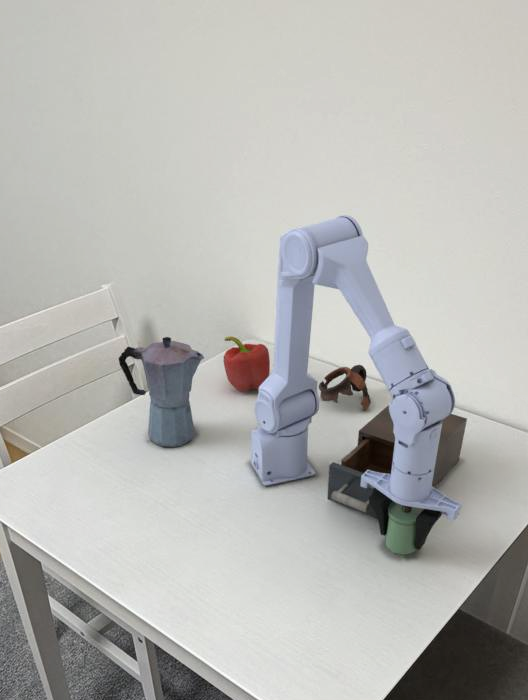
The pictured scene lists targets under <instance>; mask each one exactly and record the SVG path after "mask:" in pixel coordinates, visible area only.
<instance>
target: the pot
mask: <svg viewBox="0 0 528 700" xmlns="http://www.w3.org/2000/svg"><path fill="white" fill-rule="evenodd" d="M423 510H424V509H423V508H416V507H409V506H404V505H400V504H398V503H396V502H394V501H393V502H392V503H390V505H389V506H388V516H389V517H388V525H387V532H386V535H385V541H384V544H385V547H386V548H387V550H389V551H391V552H392V553H394V554H398V555H409V554H412V553H414V552H415V551H417V549H415V540H416V535H417V523H416V517H417V516H418V515H419V514H420V513H421V512H422V511H423Z"/></svg>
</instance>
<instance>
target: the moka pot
mask: <svg viewBox="0 0 528 700" xmlns="http://www.w3.org/2000/svg"><path fill="white" fill-rule="evenodd" d="M129 357H130V358H133V359H134V360H141V363H142V366H143V370H144V375H145V381H146V385H147V389H148V391H149V392H148V394H149V398H150V402H149V404H150V405H149V416H148V417H149V418H148V429H147V431H148V432H147V434H148V438H149V440H150V441H151V442H152V443H154V444H156V445H159V446H161V447H172V448H173V447H180V446H184V445H187V444H189V443H190V442H191V441H192V440H193V439H194V437H195V435H196V431H195V425H194V419H193V413H192V409H191V407H192V406H191V402H190V393H191V391H192V387H193V386H192V385H193V378H194V376H195V374H196V372H197V370H198V367H199V366H200V364H201V362H202V360H204V359H205V356H204V355H203V353H201V352H199V351H197V350H195V349H192V347H191V345H190V344H188V343H184V342H179V341H176V340H172V337H169V336H164V337H162V340H161V341H160V342H152V343H151V344H149V345H147V346H146V347H132V346H127V347H126V348H125V349H124V351H123V352H121V354H120V355H119V357H118V363H119V366H120V368H121V370H122V373H124V376H125V378H126V381H127V382H128V385H129V387H130V389H131V391H132V393H133V394H134V395H137V396H138V395H139V396H146V393H147V391H146V390H145V389H139V388H138V386H137V384H136V383H135V381H134V377H133V374H132V372H131V370H130V367H129V365H128V363H127V362H126V360H127V359H128V358H129Z"/></svg>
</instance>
